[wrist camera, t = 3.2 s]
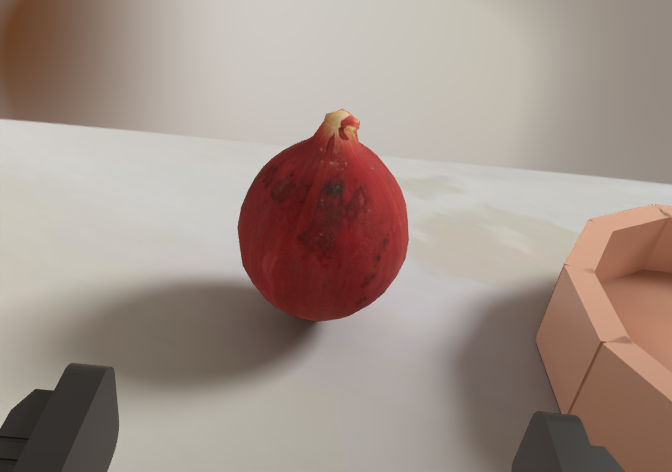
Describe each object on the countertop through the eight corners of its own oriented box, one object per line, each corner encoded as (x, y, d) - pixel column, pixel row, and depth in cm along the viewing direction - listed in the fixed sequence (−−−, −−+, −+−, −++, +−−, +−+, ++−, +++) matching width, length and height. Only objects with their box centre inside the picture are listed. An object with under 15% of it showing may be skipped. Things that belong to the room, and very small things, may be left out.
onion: (385, 384, 21) (434, 172, 17) (216, 355, 22) (222, 138, 17) (391, 281, 26) (431, 96, 22) (253, 258, 26) (265, 70, 22)
